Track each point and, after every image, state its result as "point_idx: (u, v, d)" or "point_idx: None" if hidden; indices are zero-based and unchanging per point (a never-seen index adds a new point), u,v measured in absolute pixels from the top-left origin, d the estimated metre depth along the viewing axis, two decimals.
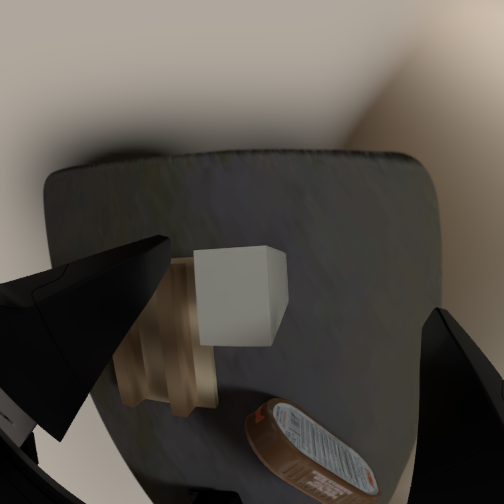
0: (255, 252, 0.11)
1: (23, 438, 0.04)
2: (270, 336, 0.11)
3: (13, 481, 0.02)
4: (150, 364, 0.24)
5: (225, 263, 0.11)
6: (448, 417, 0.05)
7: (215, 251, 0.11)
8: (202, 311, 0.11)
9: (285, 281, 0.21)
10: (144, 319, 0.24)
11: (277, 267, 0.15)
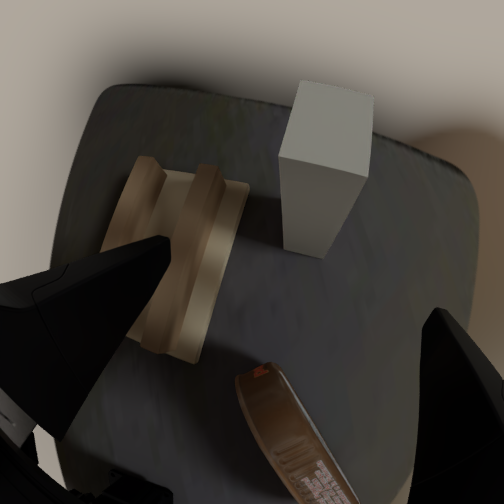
0: (363, 96, 0.09)
1: (23, 438, 0.04)
2: (367, 168, 0.09)
3: (13, 481, 0.02)
4: None
5: (331, 95, 0.09)
6: (448, 417, 0.05)
7: (323, 85, 0.09)
8: (294, 124, 0.09)
9: None
10: (153, 231, 0.21)
11: None
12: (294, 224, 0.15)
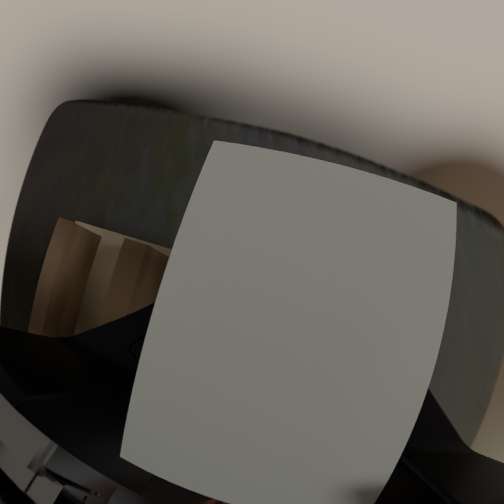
0: (426, 210, 0.03)
1: (106, 502, 0.04)
2: (372, 498, 0.02)
3: None
4: None
5: (316, 210, 0.03)
6: None
7: (291, 160, 0.03)
8: (159, 360, 0.03)
9: None
10: (87, 315, 0.15)
11: None
12: None
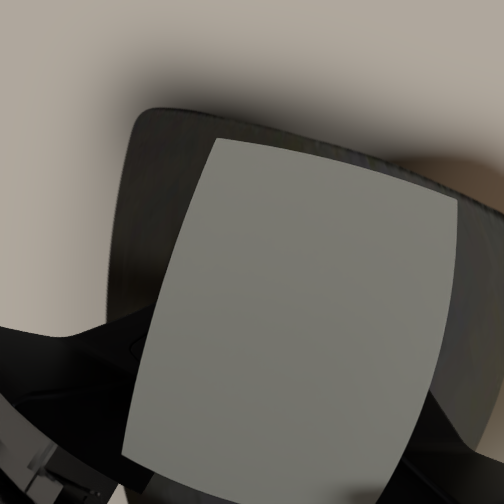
0: (427, 207, 0.03)
1: (106, 503, 0.04)
2: (375, 495, 0.02)
3: None
4: None
5: (318, 205, 0.03)
6: None
7: (293, 158, 0.03)
8: (162, 356, 0.03)
9: None
10: None
11: None
12: None
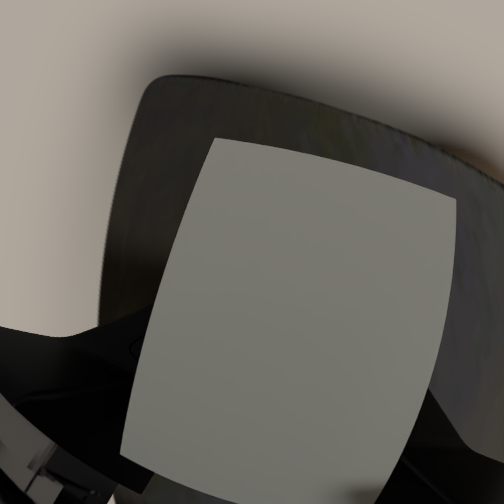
0: (426, 206, 0.03)
1: (106, 502, 0.04)
2: (373, 496, 0.02)
3: None
4: None
5: (315, 206, 0.03)
6: None
7: (291, 157, 0.03)
8: (160, 356, 0.03)
9: None
10: None
11: None
12: None
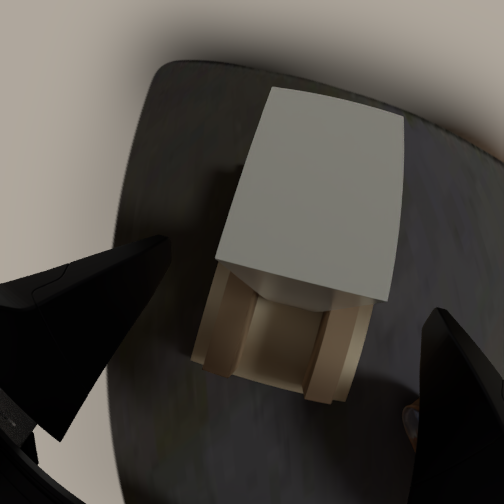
0: (385, 118, 0.05)
1: (23, 438, 0.04)
2: (389, 279, 0.04)
3: (13, 481, 0.02)
4: (265, 317, 0.17)
5: (327, 116, 0.05)
6: (448, 417, 0.05)
7: (313, 96, 0.05)
8: (251, 183, 0.05)
9: None
10: None
11: None
12: (272, 295, 0.11)
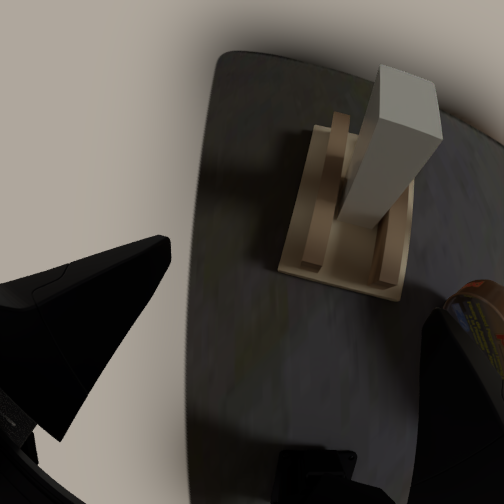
0: (427, 82, 0.10)
1: (23, 438, 0.04)
2: (441, 133, 0.09)
3: (13, 481, 0.02)
4: (336, 232, 0.21)
5: (405, 78, 0.10)
6: (448, 417, 0.05)
7: (397, 70, 0.10)
8: (384, 96, 0.10)
9: None
10: None
11: None
12: (362, 188, 0.16)
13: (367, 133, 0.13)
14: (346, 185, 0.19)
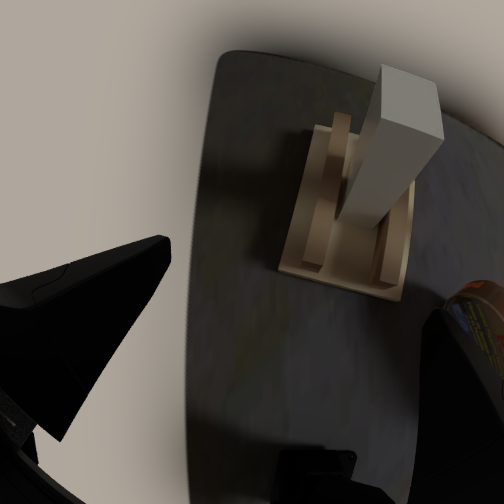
0: (428, 82, 0.10)
1: (23, 438, 0.04)
2: (442, 134, 0.09)
3: (13, 481, 0.02)
4: (337, 232, 0.21)
5: (406, 78, 0.10)
6: (448, 417, 0.05)
7: (399, 70, 0.10)
8: (386, 96, 0.10)
9: None
10: None
11: None
12: (363, 188, 0.16)
13: (368, 133, 0.13)
14: (347, 185, 0.19)
